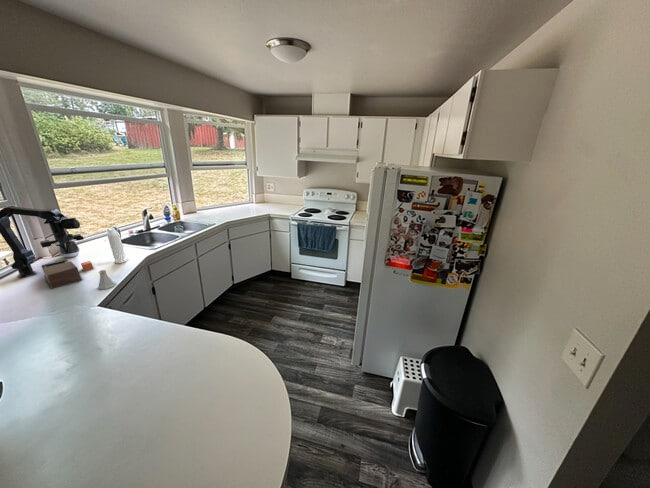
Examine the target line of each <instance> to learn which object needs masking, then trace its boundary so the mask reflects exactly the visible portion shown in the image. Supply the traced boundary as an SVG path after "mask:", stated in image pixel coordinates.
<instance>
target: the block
mask: <svg viewBox="0 0 650 488" xmlns="http://www.w3.org/2000/svg"><path fill="white" fill-rule="evenodd" d="M80 265H81V268H82V270H83V272H87V271H91V270H94V265H93V262H91V260H87V261H84V262H81V263H80Z"/></svg>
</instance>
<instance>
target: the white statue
mask: <svg viewBox="0 0 650 488" xmlns="http://www.w3.org/2000/svg"><path fill="white" fill-rule="evenodd" d="M107 231H108V233H107V235H106V236H107V239H108V243H109V247H110V250H111V253H112V256H113V259H114V260H113V261H114V263H115V264H121V263H125V262H127V257H126V252H125V250H124V245H123V244H122V243H123V242H122V238H121V235H120V233H119V231H117V230H116V229H115V228H114V227H109V229H108V230H107Z"/></svg>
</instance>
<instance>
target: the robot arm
mask: <svg viewBox="0 0 650 488" xmlns="http://www.w3.org/2000/svg"><path fill="white" fill-rule="evenodd" d="M13 215H18V216H25V217H37V218H40V219H42V220H45V221H44V222H43V224H44V225H49V229H50V230H51V233H52V235H53V237H54V240H49V239H45V240H40V241H39V245H40V247H41V248H43V249H44V248H48V247H51V246H52V245H54V246H55V247H59V246H60V247H61V248H62V249H63V250H64V251H65V252H66V253H68V252H69V245H70V243H72V242H71V240H74V241H78V242H79V241H82V240H84V239H85V238H84V236H83V235H82V234H80V233H77V234H73V233H67V231H66V230H76V229H80V228H81V223H80V221H79V220H78V219H77V218H76V217H68V216H67V215H65V214H63V213H62V212H61V211H60V210H59V209H57V208H44V209H40V208H39V209H38V208H31V207H30V208H29V207H21V206H14V205H9V206H4V207H3V208H2V209H0V235H1V237H2V238H3V240H4V241H5V243H6V244H7V246H8V247H9V248H10V250H11V251H12V260H13V261H14V262H13V263H12V264H11V265H10V267H11V268H12V269H13V270H17V272H18V276H19V279H23V278H26V277H31V276H34V275H35V276H36V275H37V273H36V271H35V270H34V269H33V267H32V264H33V263H35V259H36V254H35V253H34V252H33V250H32V249H30V250H28V249H27V248H25V247H24V245H23V244H22V242H21V240H20V239H19V238H18V236H17V235H16V233H15V232H14V230H13V228H12V227H11V224H12V223H11V219H10V218H11V217H12V216H13ZM63 244H65V247H64V246H63ZM65 248H66V249H65Z"/></svg>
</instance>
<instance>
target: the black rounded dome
mask: <svg viewBox="0 0 650 488" xmlns="http://www.w3.org/2000/svg"><path fill="white" fill-rule="evenodd" d="M71 242H72V243H70V245H69V252H68V253H66V252H65V251H64V250H63V249H62V248H61V247H60V246H58V248H59V249H58V250H59V253H60V255H61V256H62V257H64V258H74V257H77V256H78V255H79V254H80V250H81V249H80V247H79V246H78V244H77V243H76V240H71ZM63 246H64V247H65V244H63ZM65 249H66V248H65Z"/></svg>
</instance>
